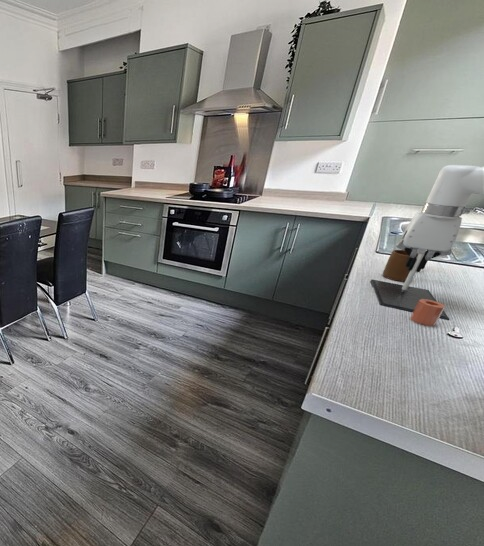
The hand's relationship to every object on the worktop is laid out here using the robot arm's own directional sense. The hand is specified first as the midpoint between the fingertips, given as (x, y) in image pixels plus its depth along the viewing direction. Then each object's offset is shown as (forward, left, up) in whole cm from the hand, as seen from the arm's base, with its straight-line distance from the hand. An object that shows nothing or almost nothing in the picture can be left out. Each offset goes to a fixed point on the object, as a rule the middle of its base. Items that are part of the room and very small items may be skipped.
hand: (412, 269), depth 96 cm
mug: (-1, -19, -9) cm, 21 cm away
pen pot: (-1, +20, -9) cm, 22 cm away
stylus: (0, +1, -8) cm, 8 cm away
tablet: (0, +4, -9) cm, 10 cm away
